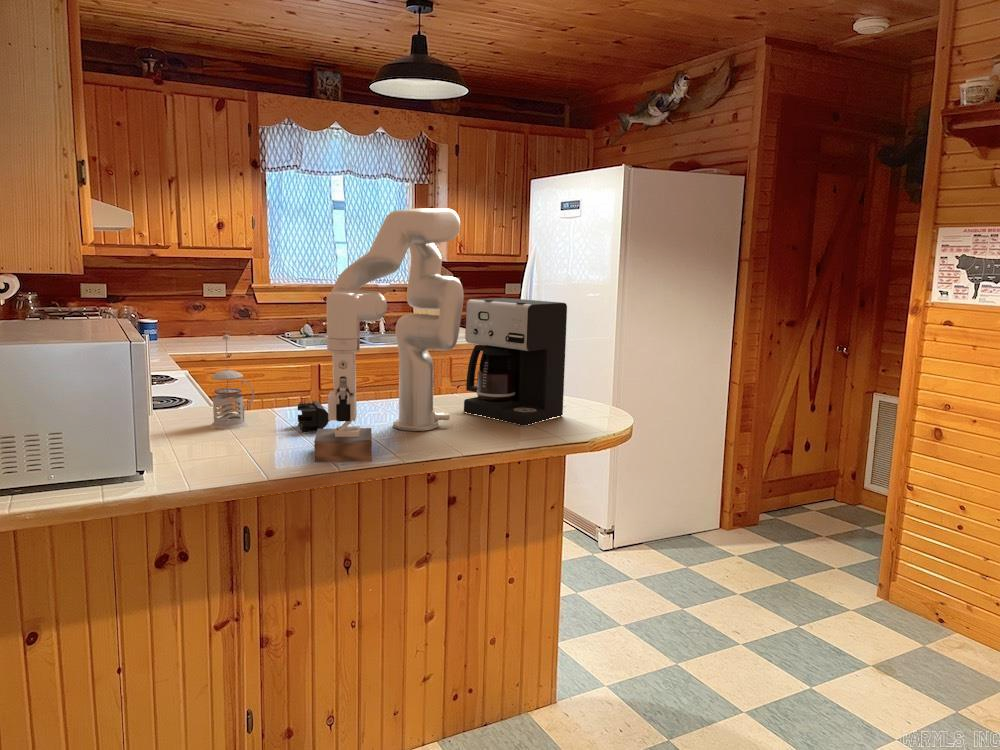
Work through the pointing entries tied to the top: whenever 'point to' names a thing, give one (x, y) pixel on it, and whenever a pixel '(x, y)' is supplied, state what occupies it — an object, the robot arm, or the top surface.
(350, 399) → the security camera
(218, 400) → the french press
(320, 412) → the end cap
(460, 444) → the top surface
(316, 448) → the walnut stand
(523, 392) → the coffee maker
